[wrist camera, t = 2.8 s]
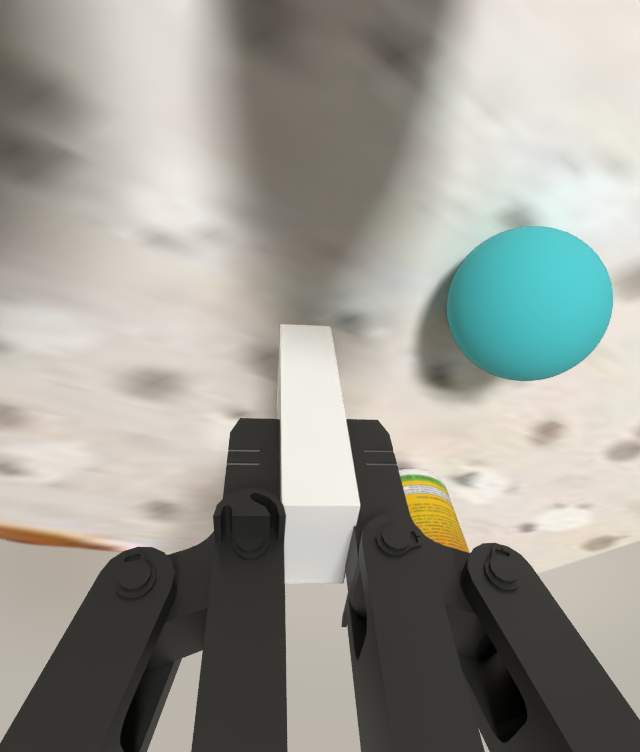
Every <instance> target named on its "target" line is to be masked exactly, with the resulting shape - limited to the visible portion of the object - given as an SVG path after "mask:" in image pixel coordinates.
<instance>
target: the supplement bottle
mask: <svg viewBox="0 0 640 752" xmlns="http://www.w3.org/2000/svg"><path fill="white" fill-rule="evenodd" d="M399 474H400V478H401V481H402V485H403V489H404V493H405V497H406V501H407V505H408V508H409V512H410V515H411V518H412V520H413V522H414V523H415V525H416V526H417V527H418V528H419V529H420V530H421V531H422V533H423V534H424V535H425V536H427V537H428V538H430V539H432V540H433V541H435V542H437V543H440V544H442V545H445V546H448V547H451V548H455V549H458V550H462V551H465V552H468V553H470V552H469V550H468V547H467V544H466V541H465V539H464V536H463V533H462V531H461V528H460V525H459V522H458V520H457V517H456V514H455V511H454V509H453V506H452V503H451V500H450V497H449V495H448V492H447V489H446V487H445V485H444V483H443V481H442V480H441V479H440V478H439V477H438V476H437V475H435V474H433V473H431V472H429V471H426V470H422V469H401V470H399Z"/></svg>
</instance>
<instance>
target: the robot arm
mask: <svg viewBox="0 0 640 752" xmlns="http://www.w3.org/2000/svg"><path fill="white" fill-rule="evenodd" d="M213 519H214V532H213V533H212V534H211V535H210V536H209V537H208V538H207V539H206V540H204V541H203V542H201V543H200V544H198V545H196V546H194V547H191V548H189V549H186V550H183V551H179V552H176V553H173V554H170V555H166V554H165V553H164V552H162V551H160V550H157V549H155V548H153V547H136V548H133V549H130V550H126V551H123V552H122V553H120V554H119V555H117V556H116V557H114V558H113V559H111V560H110V561H109V562H108V563H107V565H106V566H105V567H104V568H103V569H102V571H101V572H100V574H99V575H98V577H97V579H96V580H95V582H94V584H93V586H92V587H91V589H90V591H89V592H88V594H87V596H86V597H85V599H84V601H83V603H82V604H81V606H80V608H79V610H78V611H77V613H76V615H75V616H74V618H73V620H72V621H71V623H70V625H69V627H68V628H67V630H66V632H65V633H64V635H63V637H62V639H61V640H60V642H59V644H58V645H57V647H56V649H55V651H54V653H53V654H52V656H51V657H50V660H49V661H48V663H47V664H46V666H45V668H44V669H43V671H42V673H41V675H40V676H39V678H38V680H37V681H36V683H35V685H34V687H33V688H32V690H31V692H30V693H29V695H28V697H27V699H26V700H25V702H24V704H23V705H22V707H21V709H20V711H19V712H18V714H17V716H16V717H15V719H14V721H13V723H12V724H11V726H10V728H9V729H8V731H7V733H6V734H5V736H4V738H3V740H2V741H1V743H0V752H147V750H148V747H149V744H150V742H151V739H152V736H153V734H154V731H155V728H156V726H157V723H158V720H159V718H160V715H161V712H162V710H163V707H164V705H165V702H166V699H167V697H168V694H169V691H170V689H171V686H172V683H173V681H174V678H175V675H176V673H177V670H178V667H179V665H180V662H181V659H182V658H183V657H186V656H188V655H191V654H194V653H196V652H199V651H201V650H203V654H202V663H201V672H200V681H199V689H198V698H197V707H196V716H195V725H194V733H193V742H192V751H191V752H287V703H286V702H287V699H286V633H285V584H329V583H344V578H345V574H346V578H347V585H348V595H347V600H346V604H345V608H344V612H343V617H342V627H347V626H348V635H349V644H350V653H351V662H352V671H353V681H354V690H355V699H356V708H357V716H358V726H359V735H360V743H361V744H360V745H361V752H485V751H484V748H483V745H482V741H481V737H480V733H479V730H480V732H481V734H482V736H483V738H484V740H485V743H486V745H487V746H488V749H489V751H490V752H640V720H639V718H638V717H637V716H636V714H635V713H634V711H633V710H632V708H631V707H630V706H629V704H628V703H627V701H626V700H625V698H624V697H623V696H622V694H621V693H620V691H619V690H618V688H617V687H616V686H615V684H614V683H613V681H612V680H611V679H610V677H609V676H608V674H607V673H606V672H605V670H604V669H603V667H602V666H601V664H600V663H599V662H598V660H597V659H596V657H595V656H594V654H593V653H592V652H591V650H590V649H589V647H588V646H587V645H586V643H585V642H584V640H583V639H582V638H581V636H580V635H579V633H578V632H577V630H576V629H575V628H574V626H573V625H572V623H571V622H570V620H569V619H568V618H567V616H566V615H565V613H564V612H563V610H562V609H561V608H560V606H559V605H558V603H557V602H556V601H555V599H554V598H553V596H552V595H551V593H550V592H549V591H548V589H547V588H546V586H545V585H544V584H543V582H542V581H541V580H540V578H539V576H538V575H537V574H536V572H535V571H534V569H533V568H532V566H531V565H530V564H529V563H528V562H527V561H526V560H525V559H524V558H523V557H522V555H521V554H519V553H517V552H516V551H514V550H513V549H511V548H509V547H507V546H504V545H500V544H497V543H484V544H481V545H479V546H477V547H475V548H474V549H473V550H472V552H471V553H468V552H465V551H462V550H458V549H455V548H451V547H448V546H445V545H442V544H440V543H437V542H435V541H433V540H432V539H430V538H428V537H427V536H425V535H424V534H423V533H422V531H421V530H420V529H419V528H418V527H417V526H416V525H415V523H414V522H413V520H412V518H411V515H410V512H409V508H408V505H407V501H406V497H405V493H404V489H403V485H402V481H401V478H400V474H399V470H398V466H397V462H396V458H395V455H394V453H393V447H392V443H391V439H390V435H389V433H388V432H387V431H386V430H385V428H384V427H383V426H382V425H381V423H380V422H379V421H378V420H357V419H346V416H345V410H344V404H343V398H342V392H341V385H340V379H339V373H338V367H337V361H336V355H335V349H334V343H333V337H332V331H331V326H315V325H291V324H280V341H279V362H278V383H277V419H251V418H240V419H239V421H238V422H237V424H236V425H235V426H234V428H233V429H232V431H231V432H230V440H229V449H228V458H227V467H226V476H225V485H224V494H223V499H222V500H221V502H220V503H219V504H218V505H217V507H216V510H215V513H214V516H213ZM478 728H479V729H478Z"/></svg>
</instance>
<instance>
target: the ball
mask: <svg viewBox="0 0 640 752" xmlns="http://www.w3.org/2000/svg"><path fill="white" fill-rule="evenodd" d="M612 307H613V291H612V285H611V280H610V278H609V275H608V272H607V269H606V267H605V266H604V264H603V263H602V261H601V259H600V258H599V256H598V255H597V254H596V253H595V252H594V251H593V250H592V249H591V248H590V247H589V246H588V245H587V244H586V243H584V242H583V241H582V240H580V239H579V238H577V237H575V236H573V235H571V234H569V233H567V232H564V231H561V230H558V229H554V228H549V227H541V226H527V227H520V228H515V229H511V230H507V231H504V232H502V233H499V234H497V235H495V236H493V237H491V238H489V239H487V240H486V241H484V242H483V243H481V244H480V245H479V246H477V247H476V248H475V249H474V250H473V251H472V252H471V253H470V254H469V255H468V256H467V257H466V258H465V259H464V261H463V262H462V263H461V265H460V266H459V268H458V269H457V271H456V273H455V275H454V277H453V280H452V282H451V285H450V288H449V292H448V297H447V318H448V324H449V327H450V331H451V333H452V336H453V338H454V340H455V342H456V344H457V345H458V347H459V348H460V350H461V351H462V352H463V354H464V355H465V356H466V357H467V358H468V359H469V360H470V361H471V362H472V363H474V364H475V365H476V366H478V367H479V368H481V369H483V370H484V371H486V372H488V373H490V374H493V375H495V376H498V377H501V378H505V379H510V380H517V381H533V380H541V379H546V378H550V377H553V376H556V375H559V374H561V373H563V372H565V371H567V370H569V369H571V368H573V367H574V366H576V365H577V364H579V363H580V362H581V361H583V360H584V359H585V358H586V357H587V356H588V355H589V354H590V353H591V352H592V351H593V350H594V349H595V348H596V346H597V345H598V344H599V342H600V341H601V339H602V337H603V335H604V334H605V332H606V329H607V327H608V325H609V322H610V318H611V313H612Z"/></svg>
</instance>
